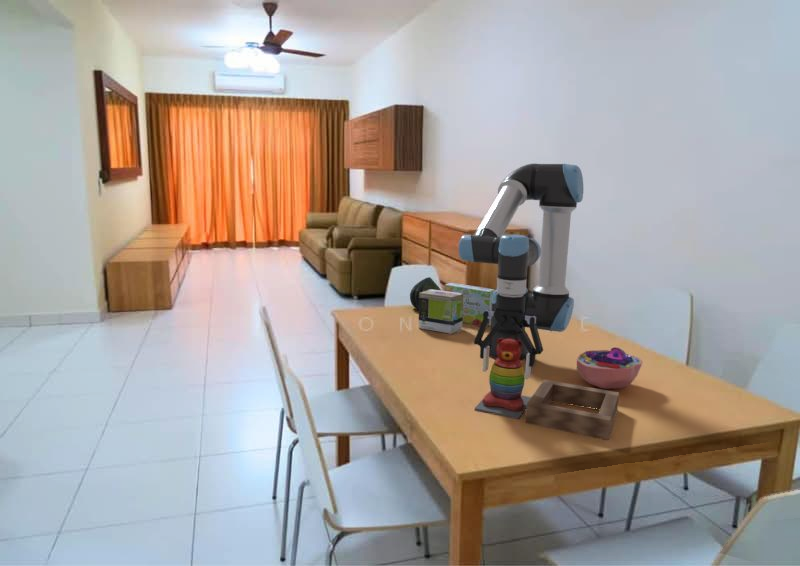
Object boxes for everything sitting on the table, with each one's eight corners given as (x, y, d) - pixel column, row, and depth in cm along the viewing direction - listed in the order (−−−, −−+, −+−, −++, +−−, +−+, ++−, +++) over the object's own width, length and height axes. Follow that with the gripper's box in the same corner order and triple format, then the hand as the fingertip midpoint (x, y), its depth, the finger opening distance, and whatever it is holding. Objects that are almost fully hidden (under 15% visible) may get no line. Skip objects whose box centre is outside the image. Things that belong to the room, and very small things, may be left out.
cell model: (561, 380, 180) (564, 344, 178) (612, 372, 188) (615, 338, 186) (599, 400, 165) (603, 361, 163) (653, 391, 173) (657, 354, 170)
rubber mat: (474, 409, 156) (474, 408, 156) (491, 391, 170) (491, 389, 169) (518, 419, 151) (519, 417, 151) (532, 399, 164) (532, 397, 164)
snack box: (442, 319, 249) (443, 284, 246) (449, 316, 254) (450, 282, 251) (487, 327, 237) (489, 291, 234) (494, 324, 242) (496, 288, 239)
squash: (413, 302, 254) (434, 275, 256) (399, 296, 267) (419, 271, 269) (434, 321, 259) (455, 295, 262) (420, 315, 273) (439, 289, 275)
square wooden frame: (525, 422, 149) (526, 404, 148) (542, 396, 167) (544, 379, 166) (608, 440, 141) (610, 420, 140) (617, 410, 158) (619, 392, 157)
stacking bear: (480, 404, 158) (485, 341, 154) (489, 392, 167) (494, 331, 163) (520, 412, 154) (526, 347, 150) (527, 399, 163) (533, 337, 160)
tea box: (462, 329, 234) (464, 292, 231) (451, 334, 226) (452, 297, 223) (429, 323, 242) (431, 287, 239) (417, 328, 234) (418, 292, 231)
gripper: (464, 291, 156) (460, 370, 160) (552, 302, 146) (546, 385, 150) (473, 286, 163) (469, 362, 167) (559, 296, 153) (552, 376, 157)
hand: (506, 373), depth 159 cm, fingers open, 11 cm apart
